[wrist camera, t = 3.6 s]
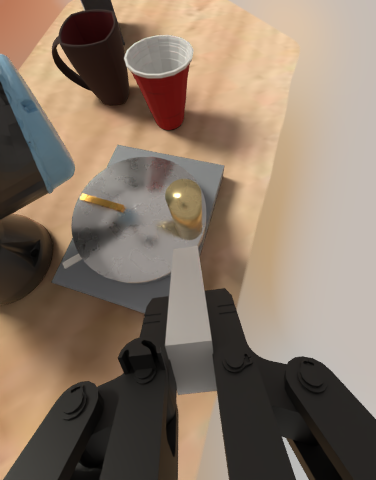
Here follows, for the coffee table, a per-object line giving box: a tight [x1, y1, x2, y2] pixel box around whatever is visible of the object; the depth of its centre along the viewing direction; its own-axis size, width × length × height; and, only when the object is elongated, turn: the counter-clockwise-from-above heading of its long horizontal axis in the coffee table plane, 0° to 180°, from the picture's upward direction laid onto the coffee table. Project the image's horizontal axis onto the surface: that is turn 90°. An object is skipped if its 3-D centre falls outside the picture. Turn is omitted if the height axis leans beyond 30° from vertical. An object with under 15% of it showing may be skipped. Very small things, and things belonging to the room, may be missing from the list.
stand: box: [51, 145, 224, 313], centre depth 34 cm, size 26×20×3 cm
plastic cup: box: [124, 35, 193, 130], centre depth 37 cm, size 11×11×12 cm
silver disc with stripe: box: [72, 157, 206, 284], centre depth 27 cm, size 20×20×11 cm
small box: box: [80, 0, 125, 45], centre depth 48 cm, size 11×6×10 cm, turn 19°
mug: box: [52, 9, 129, 105], centre depth 41 cm, size 10×14×12 cm
